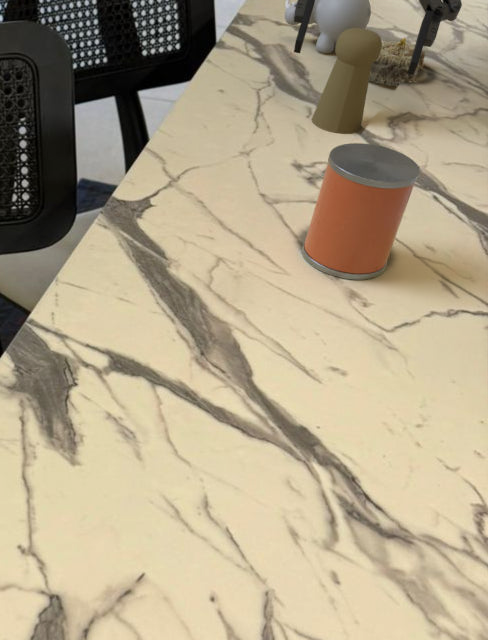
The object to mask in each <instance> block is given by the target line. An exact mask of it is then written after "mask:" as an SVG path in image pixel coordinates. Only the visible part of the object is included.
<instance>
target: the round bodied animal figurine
mask: <svg viewBox="0 0 488 640" xmlns="http://www.w3.org/2000/svg"><path fill="white" fill-rule="evenodd" d="M297 2H298V0H297V1H295V0H292V3H291V0H286V1H285V5H284V7H285V11H284V20H285V22H286V23H287V24H288V25H290V26H298V25H299V24H300V23H298V22H294V12H295V8H296V5H297ZM371 14H372V7H371V2H370V0H315V3H314V7H313V10H312V14H311V17H310V21H309V24H308V25H312V24H316V25H317V27H318V29H319V32H320V35H319V36H318V39H317V41H316V44H315V50H316V51H317V52H319V53H321V54H332V53H333V52H334V51H335V46H336V42H337V40H338V38H339V36H340V34H341V33H342V32H343V31H345V30H347V29H350V28H361V29H366V28H367V27H368V25H369V23H370V20H371V19H370V18H371Z"/></svg>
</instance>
